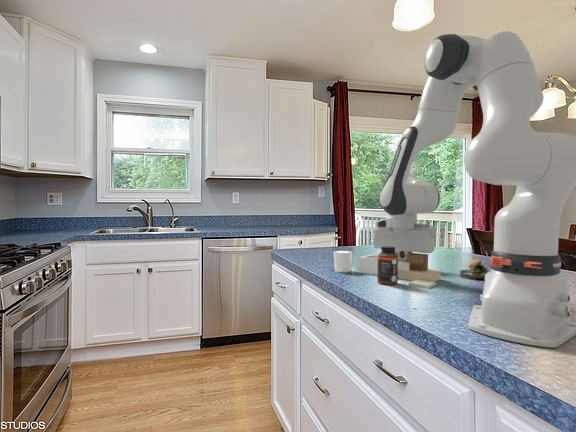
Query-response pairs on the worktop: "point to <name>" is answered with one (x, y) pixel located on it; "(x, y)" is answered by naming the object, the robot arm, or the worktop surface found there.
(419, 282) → the coaster
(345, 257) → the white cylinder
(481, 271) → the burger
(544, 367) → the worktop surface
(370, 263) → the trough
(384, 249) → the supplement bottle
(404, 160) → the robot arm
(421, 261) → the walnut block
